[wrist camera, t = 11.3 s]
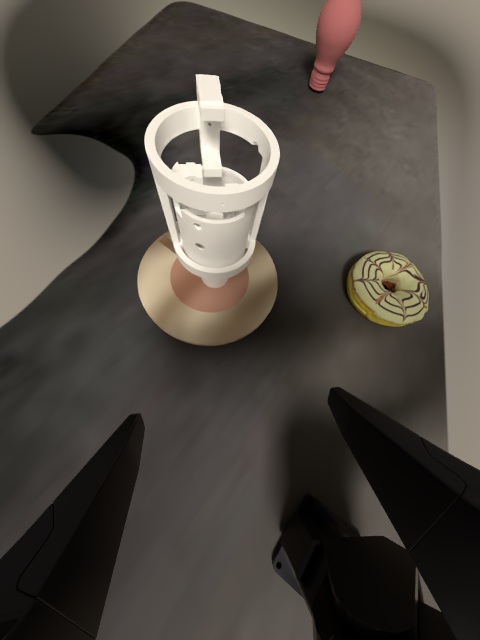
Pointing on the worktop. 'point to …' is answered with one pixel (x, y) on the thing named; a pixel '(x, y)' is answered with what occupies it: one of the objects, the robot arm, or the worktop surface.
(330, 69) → the light bulb
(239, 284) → the turntable
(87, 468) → the robot arm
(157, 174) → the strainer
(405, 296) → the decorated donut
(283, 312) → the worktop surface
